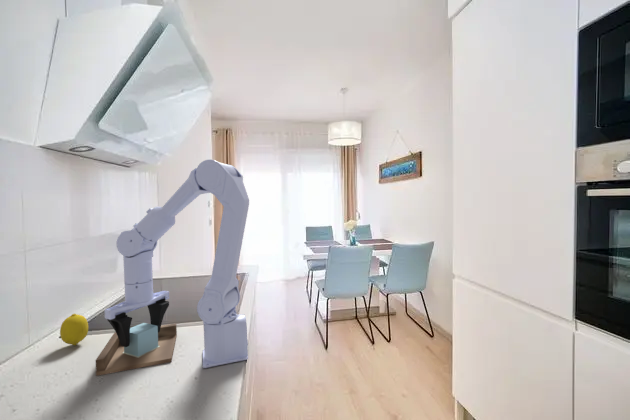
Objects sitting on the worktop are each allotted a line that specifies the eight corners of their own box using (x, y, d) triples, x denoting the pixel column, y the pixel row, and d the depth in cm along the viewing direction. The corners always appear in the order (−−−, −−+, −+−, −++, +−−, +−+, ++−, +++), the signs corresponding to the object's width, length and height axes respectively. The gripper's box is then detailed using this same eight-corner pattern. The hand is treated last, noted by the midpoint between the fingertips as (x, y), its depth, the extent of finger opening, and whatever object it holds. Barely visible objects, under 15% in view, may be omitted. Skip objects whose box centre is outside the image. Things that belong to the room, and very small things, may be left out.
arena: (176, 335, 79) (176, 323, 79) (171, 361, 66) (170, 347, 66) (115, 345, 74) (114, 332, 74) (96, 375, 61) (95, 360, 61)
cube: (144, 342, 74) (143, 322, 73) (158, 346, 72) (157, 325, 71) (124, 352, 69) (123, 330, 69) (138, 356, 67) (137, 334, 67)
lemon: (59, 346, 75) (57, 314, 74) (86, 338, 79) (85, 308, 78) (62, 353, 71) (61, 320, 71) (91, 344, 75) (89, 313, 75)
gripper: (155, 272, 78) (157, 323, 78) (94, 287, 65) (97, 349, 65) (174, 274, 75) (176, 328, 76) (115, 291, 62) (118, 355, 62)
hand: (141, 338), depth 70 cm, fingers open, 7 cm apart
